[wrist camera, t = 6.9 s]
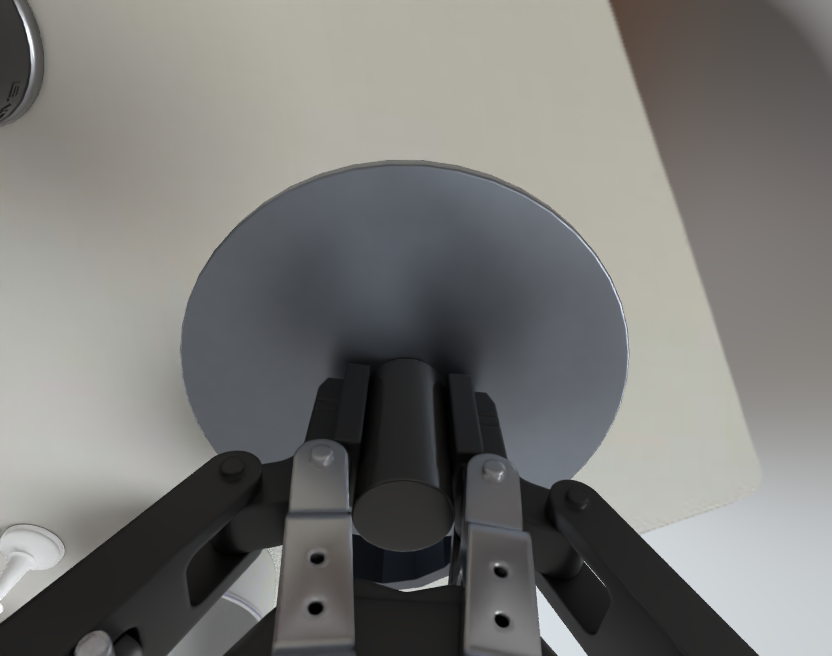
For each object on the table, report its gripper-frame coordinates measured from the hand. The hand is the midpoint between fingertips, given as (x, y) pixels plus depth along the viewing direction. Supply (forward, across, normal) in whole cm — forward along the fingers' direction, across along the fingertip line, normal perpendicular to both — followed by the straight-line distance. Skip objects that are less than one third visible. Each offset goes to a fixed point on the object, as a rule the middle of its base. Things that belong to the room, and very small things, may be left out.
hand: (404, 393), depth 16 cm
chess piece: (+17, +28, +32) cm, 46 cm away
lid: (+1, 0, 0) cm, 1 cm away
